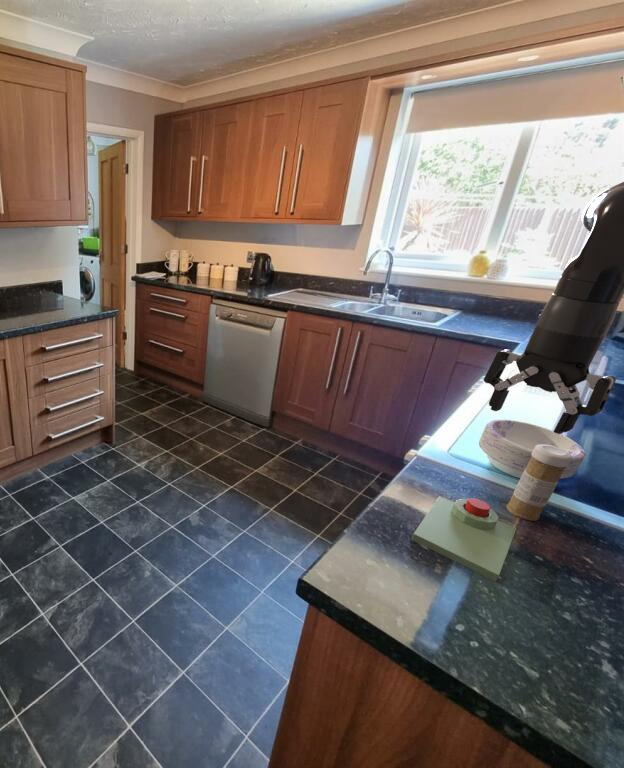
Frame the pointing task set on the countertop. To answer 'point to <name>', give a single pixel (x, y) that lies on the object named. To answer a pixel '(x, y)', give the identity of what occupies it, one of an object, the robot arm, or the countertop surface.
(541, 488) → the sprinkles bottle
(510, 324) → the countertop surface
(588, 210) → the robot arm
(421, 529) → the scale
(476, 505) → the button
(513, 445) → the paper bowls
